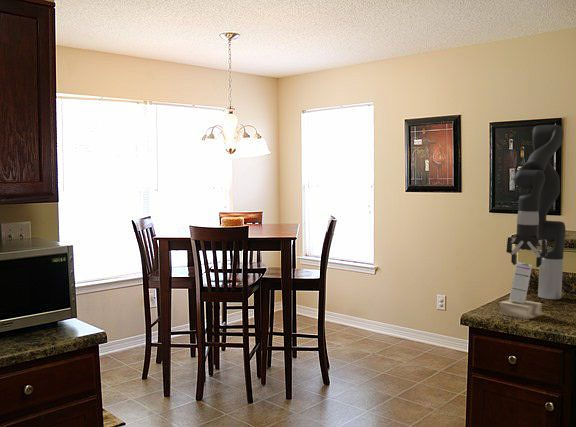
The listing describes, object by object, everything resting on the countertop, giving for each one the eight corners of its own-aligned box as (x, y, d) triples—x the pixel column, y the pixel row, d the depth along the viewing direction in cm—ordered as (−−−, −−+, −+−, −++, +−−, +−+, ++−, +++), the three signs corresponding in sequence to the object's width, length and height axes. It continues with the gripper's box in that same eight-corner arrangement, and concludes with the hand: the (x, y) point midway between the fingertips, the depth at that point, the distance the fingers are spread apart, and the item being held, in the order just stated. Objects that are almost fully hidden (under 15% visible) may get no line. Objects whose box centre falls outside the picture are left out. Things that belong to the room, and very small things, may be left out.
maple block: (514, 310, 230) (514, 298, 229) (541, 316, 221) (541, 303, 221) (499, 315, 222) (499, 302, 222) (527, 320, 214) (527, 307, 214)
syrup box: (524, 304, 219) (532, 267, 217) (508, 300, 221) (516, 263, 219) (525, 301, 224) (533, 264, 222) (509, 297, 226) (516, 261, 224)
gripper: (550, 223, 217) (548, 266, 219) (511, 221, 226) (510, 262, 227) (544, 225, 211) (543, 269, 213) (505, 222, 220) (503, 264, 222)
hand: (526, 265), depth 220 cm, fingers open, 8 cm apart
